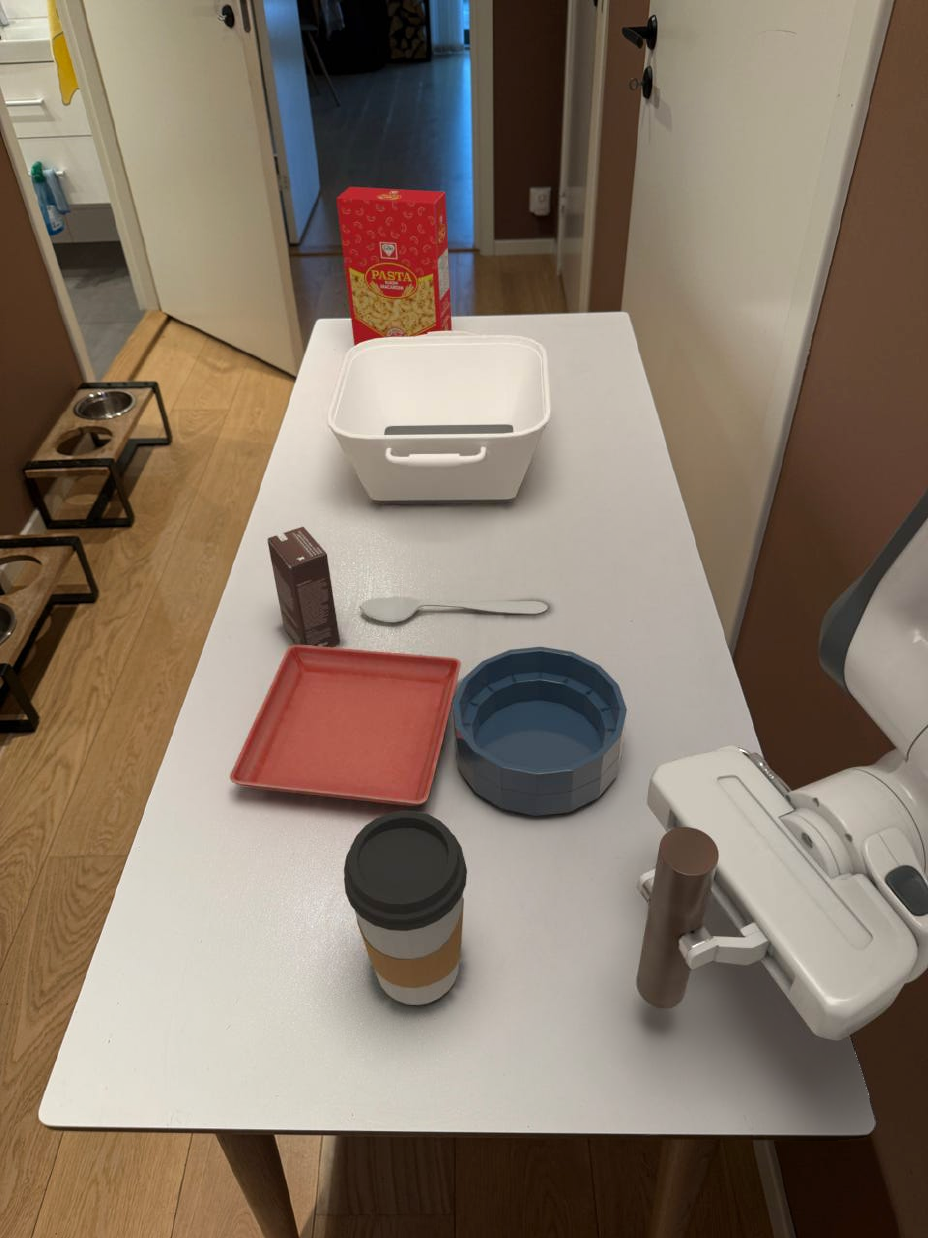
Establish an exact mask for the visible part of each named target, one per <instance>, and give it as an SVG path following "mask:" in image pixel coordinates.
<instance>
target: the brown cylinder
mask: <svg viewBox="0 0 928 1238" xmlns="http://www.w3.org/2000/svg"><path fill="white" fill-rule="evenodd" d="M718 858H719V852H718V848H717V846H716V844H715V842H714V841H713V840H712V838H711V837H710V836H708V835H707V834H706V833H704V832H703V831H701V830H698V829H695V828H691V827H678V828H675V829H672V830H670V831H669V832H666V833H664V835H663V836H662V837H661V840H660V842H659V847H658V852H657V857H656V864H655V868H654V869H655V875H654V881H653V887H652V892H651V898H650V904H649V905H648V910H647V915H646V922H645V928H644V934H643V939H642V946H641V950H640V951H641V952H640V957H639V962H638V968H637V974H636V989H637V992H638V994H639V995H640V997H641V998H642V999H643V1000H644V1001H645V1002H646V1003H647V1004H648V1005H650V1006H652V1007H654V1008H657V1009H671V1008H674V1007H676V1006H678V1005H679V1004H680V1003H681V1002H683V1000H684V998H685V995H686V992H687V988H688V985H689V980H690V977H691V973H692V972H691V971H692V969H691V968H690V967H689V966H688V964H687V963H686V961H685V959H684V958H683V956H682V955H681V953H680V951H679V950H678V948H677V947H678V945H679V939H680V938H681V937H682V936H683V935H685V934H687V933H694V931H695V930H696V929H698V928H700V927H702V926H703V924H704V920H705V915H706V911H707V907H708V903H709V899H710V895H711V892H710V891H711V887H712V883H713V879H714V875H715V871H716V867H717V863H718Z"/></svg>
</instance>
